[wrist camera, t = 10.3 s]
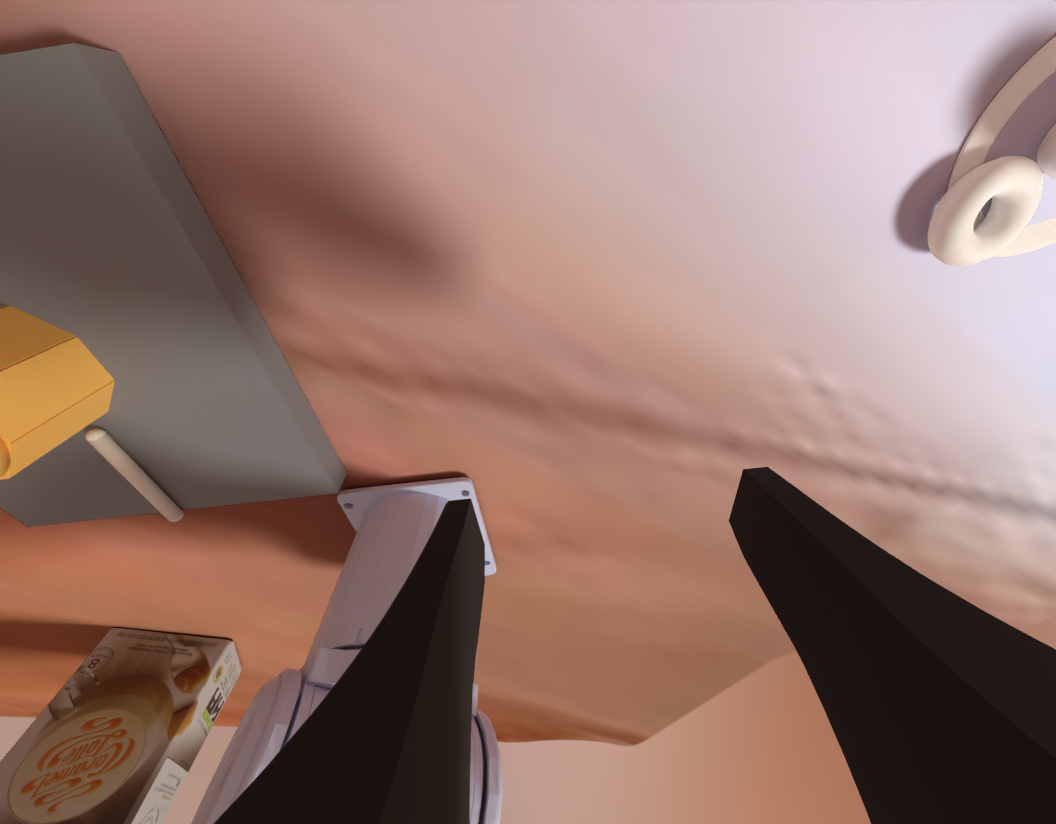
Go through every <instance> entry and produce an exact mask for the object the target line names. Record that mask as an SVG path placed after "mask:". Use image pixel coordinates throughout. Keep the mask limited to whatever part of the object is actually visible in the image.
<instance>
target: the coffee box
mask: <svg viewBox="0 0 1056 824" xmlns="http://www.w3.org/2000/svg"><path fill="white" fill-rule="evenodd" d="M241 671H242V668H241V665H240V661H239V658H238V655H237V652H236V648H235V645H234V642H233V641H230V640H225V639H216V638H206V637H198V636H189V635H179V634H170V633H161V632H151V631H142V630H133V629H123V628H112V629H110V631H109V632H108V633H107V634H106V635H105V636H104V638H103V639H102V640H101V641H100V642H99V644H98V645H97V646H96V647H95V649H94V650H93V651H92V652H91V654H90V655H89V656H88V657H87V658H86V659H85V661H84V662H83V663H82V664H81V666H80V667H79V668H78V669H77V670H76V672H75V673H74V674H73V675H72V676H71V677H70V679H69V680H68V681H67V682H66V683H65V685H64V686H63V687H62V688H61V689H60V691H59V692H58V693H57V694H56V696H55V697H54V698H53V699H52V701H51V702H50V703H49V704H48V705H47V706H46V708H45V709H44V710H43V711H42V712H41V713H40V715H39V716H38V717H37V718H36V720H35V721H34V722H33V723H32V724H31V725H30V727H29V728H28V729H27V730H26V732H25V733H24V734H23V735H22V736H21V738H20V739H19V740H18V741H17V742H16V744H15V745H14V746H13V747H12V748H11V750H10V751H9V752H8V753H7V754H6V756H5V757H4V758H3V759H2V760H1V762H0V824H161V823H162V821H163V819H164V817H165V815H166V813H167V812H168V809H169V808H170V806H171V804H172V802H173V800H174V798H175V796H176V794H177V792H178V791H179V789H180V787H181V785H182V783H183V781H184V779H185V777H186V775H187V773H188V771H189V770H190V767H191V766H192V764H193V762H194V760H195V758H196V756H197V754H198V752H199V750H200V749H201V746H202V744H203V743H204V741H205V739H206V737H207V735H208V733H209V732H210V730H211V728H212V726H213V724H214V722H215V720H216V718H217V716H218V715H219V713H220V711H221V709H222V707H223V705H224V703H225V701H226V699H227V698H228V696H229V694H230V692H231V690H232V688H233V686H234V684H235V682H236V680H237V678H238V676H239V675H240V673H241Z"/></svg>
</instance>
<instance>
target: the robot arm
mask: <svg viewBox="0 0 1056 824" xmlns="http://www.w3.org/2000/svg"><path fill="white" fill-rule="evenodd" d="M463 490H467V492H466V491H463ZM337 501H338V502H339V504H340V506H341V507H342V509H343V511H344V513H345V514H346V516H347V518H348V519H349V521H350V523H351V524H352V526H353V528H354V529H355V531H356V535H355V538H354V540H353V543H352V545H351V548H350V550H349V553H348V555H347V558H346V560H345V563H344V566H343V568H342V571H341V573H340V576H339V578H338V581H337V583H336V586H335V588H334V591H333V593H332V596H331V598H330V601H329V603H328V606H327V608H326V611H325V614H324V616H323V619H322V621H321V624H320V626H319V629H318V631H317V634H316V636H315V639H314V641H313V644H312V646H311V649H310V651H309V654H308V656H307V659H306V662H305V664H304V666H303V667H302V668H301V669H300V670H294V669H285V670H284V671H282V672H281V673H280V674H279V675H278V676H277V677H275V678H273V679H271V680H270V681H268V682H266V683H265V684H264V685H263V686H262V687H261V688H260V690H259V691H258V693H257V694H256V696H255V698H254V699H253V701H252V703H251V704H250V706H249V708H248V710H247V711H246V713H245V715H244V717H243V719H242V721H241V722H240V724H239V726H238V728H237V730H236V732H235V734H234V736H233V738H232V740H231V742H230V744H229V746H228V748H227V750H226V752H225V754H224V756H223V758H222V760H221V762H220V764H219V766H218V768H217V770H216V772H215V774H214V776H213V778H212V780H211V782H210V784H209V787H208V789H207V791H206V793H205V795H204V797H203V800H202V802H201V804H200V806H199V808H198V810H197V812H196V815H195V817H194V819H193V821H192V824H500V819H501V818H500V817H501V810H502V797H503V775H502V774H503V773H502V763H501V756H500V751H499V748H498V743H497V738H496V734H495V732H494V729H493V726H492V723H491V722H490V720H489V718H488V717H487V716H486V714H485V713H484V712H482V711H481V710H478V709H477V696H478V685H477V684H475V683H473V680H474V669H475V663H476V657H477V644H478V635H479V627H480V618H481V610H482V601H483V592H484V583H485V575H493V574H494V573H495V572H496V563H495V560H494V556H493V553H492V549H491V546H490V542H489V539H488V535H487V532H486V528H485V525H484V521H483V518H482V514H481V511H480V507H479V504H478V500H477V497H476V493H475V490H474V486H473V483H472V481H471V480H470V479H469V478H466V477H458V478H449V479H439V480H430V481H421V482H412V483H403V484H393V485H384V486H375V487H366V488H357V489H347V490H342V491H340V492H339V494H338V496H337ZM729 522H730V524H731V527H732V529H733V532H734V534H735V537H736V539H737V542H738V544H739V546H740V549H741V551H742V553H743V556H744V558H745V560H746V562H747V563H748V565H749V567H750V569H751V571H752V572H753V574H754V576H755V578H756V580H757V581H758V583H759V585H760V587H761V588H762V590H763V592H764V594H765V595H766V597H767V599H768V601H769V603H770V604H771V606H772V608H773V610H774V611H775V613H776V615H777V617H778V618H779V620H780V622H781V624H782V625H783V627H784V629H785V631H786V632H787V634H788V636H789V638H790V639H791V641H792V643H793V645H794V647H795V649H796V650H797V652H798V654H799V656H800V658H801V660H802V662H803V664H804V666H805V668H806V670H807V673H808V675H809V677H810V679H811V681H812V683H813V686H814V688H815V690H816V692H817V694H818V696H819V699H820V701H821V703H822V705H823V707H824V710H825V712H826V714H827V717H828V719H829V721H830V724H831V726H832V728H833V731H834V733H835V735H836V738H837V740H838V742H839V745H840V747H841V749H842V751H843V754H844V756H845V759H846V761H847V764H848V766H849V768H850V771H851V774H852V776H853V779H854V781H855V784H856V786H857V788H858V791H859V794H860V796H861V798H862V801H863V803H864V806H865V808H866V811H867V813H868V816H869V819H870V821H871V824H1056V650H1055V649H1054V648H1052V647H1050V646H1048V645H1046V644H1044V643H1042V642H1040V641H1038V640H1036V639H1035V638H1033V637H1031V636H1029V635H1027V634H1025V633H1023V632H1021V631H1019V630H1018V629H1016V628H1014V627H1012V626H1010V625H1008V624H1006V623H1005V622H1003V621H1001V620H999V619H997V618H995V617H994V616H992V615H990V614H988V613H986V612H985V611H983V610H981V609H979V608H978V607H976V606H974V605H973V604H971V603H969V602H967V601H966V600H964V599H962V598H961V597H959V596H957V595H955V594H954V593H952V592H950V591H949V590H947V589H945V588H943V587H942V586H940V585H938V584H937V583H935V582H933V581H932V580H930V579H928V578H927V577H925V576H924V575H922V574H920V573H919V572H917V571H916V570H914V569H912V568H911V567H909V566H908V565H906V564H905V563H903V562H902V561H900V560H899V559H897V558H895V557H894V556H892V555H891V554H889V553H888V552H886V551H885V550H883V549H882V548H880V547H879V546H877V545H876V544H874V543H873V542H871V541H870V540H868V539H867V538H865V537H864V536H862V535H861V534H860V533H858V532H857V531H855V530H854V529H852V528H851V527H849V526H848V525H847V524H845V523H844V522H842V521H841V520H840V519H838V518H837V517H835V516H834V515H833V514H831V513H830V512H828V511H827V510H826V509H824V508H823V507H822V506H820V505H819V504H817V503H816V502H815V501H813V500H812V499H811V498H809V497H808V496H807V495H805V494H804V493H802V492H801V491H800V490H798V489H797V488H796V487H794V486H793V485H792V484H790V483H789V482H788V481H786V480H785V479H783V478H782V477H781V476H779V475H778V474H777V473H775V472H774V471H772V470H771V469H770V468H768V467H762V468H752V469H743V472H742V476H741V480H740V483H739V487H738V490H737V494H736V497H735V501H734V504H733V508H732V511H731V515H730V519H729Z"/></svg>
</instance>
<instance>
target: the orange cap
mask: <svg viewBox="0 0 1056 824" xmlns="http://www.w3.org/2000/svg"><path fill="white" fill-rule="evenodd" d="M114 382H115V381H114V379H113V378H112V376H111V375H110V374H109V373H108V372H107V371H106V369H105V368H104V367H103V366H102V365H101V364H100V363H99V361H98V360H97V359H96V358H95V357H94V356H93V354H92V353H91V352H90V351H89V350H88V349H87V348H86V346H85V345H84V344H83V343H82V342H81V341H80V339H79V338H78V337H75V335H73V334H71V333H69V332H67V331H65V330H62V329H60V328H58V327H56V326H54V325H51V324H49V323H47V322H45V321H43V320H40V319H38V318H36V317H34V316H32V315H30V314H27V313H25V312H23V311H21V310H19V309H16V308H14V307H12V306H9V305H7V306H0V480H1V479H9V478H11V477H12V476H14V475H15V474H17V473H18V472H20V471H21V470H23V469H24V468H26V467H27V466H28V465H30V464H31V463H33V462H34V461H36V460H37V459H39V458H40V457H42V456H43V455H45V454H46V453H48V452H49V451H51V450H52V449H54V448H55V447H57V446H58V445H59V444H61V443H62V442H64V441H65V440H67V439H68V438H70V437H71V436H73V435H74V434H76V433H77V432H79V431H80V430H82V429H83V428H85V427H86V426H88V425H89V424H90V423H92V422H93V421H95V420H96V419H98V418H99V417H101V416H102V415H104V414H105V413H107V412H108V411H109V406H110V401H111V396H112V391H113V387H114Z"/></svg>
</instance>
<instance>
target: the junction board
mask: <svg viewBox="0 0 1056 824" xmlns="http://www.w3.org/2000/svg"><path fill="white" fill-rule="evenodd" d="M7 305H9V306H12V307H14V308H16V309H19V310H21V311H23V312H25V313H27V314H30V315H32V316H34V317H36V318H38V319H40V320H43V321H45V322H47V323H49V324H51V325H54V326H56V327H58V328H60V329H62V330H65V331H67V332H69V333H71V334H73V335H75V337H78V338H79V339H80V341H81V342H82V343H83V344H84V345H85V346H86V348H87V349H88V350H89V351H90V352H91V353H92V354H93V356H94V357H95V358H96V359H97V360H98V361H99V363H100V364H101V365H102V366H103V367H104V368H105V369H106V371H107V372H108V373H109V374H110V375H111V376H112V378H113V379H114V381H115V382H114V387H113V391H112V396H111V401H110V406H109V411H108V412H107V413H105V414H104V415H102V416H101V417H99V418H98V419H96V420H95V421H93V422H92V423H90V424H89V425H88V426H86V427H85V428H83V429H82V430H80V431H79V432H77V433H76V434H74V435H73V436H71V437H70V438H68V439H67V440H65V441H64V442H62V443H61V444H59V445H58V446H57V447H55V448H54V449H52V450H51V451H49V452H48V453H46V454H45V455H43V456H42V457H40V458H39V459H37V460H36V461H34V462H33V463H31V464H30V465H28V466H27V467H26V468H24V469H23V470H21V471H20V472H18V473H17V474H15V475H14V476H12V477H11V478H9V479H1V480H0V507H1V508H2V509H3V510H5V511H6V512H7V513H9V514H10V515H11V516H13V517H14V518H16V519H17V520H18V521H20V522H21V523H22V524H24V525H25V526H26V527H31V526H40V525H49V524H59V523H68V522H77V521H86V520H95V519H105V518H114V517H123V516H132V515H142V514H151V513H161V514H162V515H163V516H164V517H165V518H166V519H167V520H168V521H170V522H177V521H179V520H181V519H182V518H183V515H184V514H183V511H182V510H188V509H197V508H206V507H215V506H225V505H234V504H243V503H252V502H261V501H271V500H280V499H289V498H298V497H308V496H317V495H326V494H335V493H338V491H339V489H340V487H341V485H342V483H343V481H344V479H345V477H346V475H347V472H346V470H345V469H344V467H343V465H342V463H341V461H340V459H339V458H338V456H337V454H336V452H335V450H334V448H333V446H332V445H331V443H330V441H329V439H328V437H327V435H326V434H325V432H324V430H323V428H322V426H321V424H320V423H319V421H318V419H317V417H316V415H315V413H314V411H313V410H312V408H311V406H310V404H309V402H308V400H307V399H306V397H305V395H304V393H303V391H302V389H301V387H300V386H299V384H298V382H297V380H296V378H295V376H294V375H293V373H292V371H291V369H290V367H289V365H288V363H287V362H286V360H285V358H284V356H283V354H282V352H281V351H280V349H279V347H278V345H277V343H276V341H275V340H274V338H273V336H272V334H271V332H270V330H269V328H268V327H267V325H266V323H265V321H264V319H263V317H262V316H261V314H260V312H259V310H258V308H257V306H256V304H255V303H254V301H253V299H252V297H251V295H250V293H249V292H248V290H247V288H246V286H245V284H244V282H243V280H242V279H241V277H240V275H239V273H238V271H237V269H236V268H235V266H234V264H233V262H232V260H231V258H230V257H229V255H228V253H227V251H226V249H225V247H224V245H223V244H222V242H221V240H220V238H219V236H218V234H217V233H216V231H215V229H214V227H213V225H212V223H211V221H210V220H209V218H208V216H207V214H206V212H205V210H204V209H203V207H202V205H201V203H200V201H199V199H198V198H197V196H196V194H195V192H194V190H193V188H192V186H191V185H190V183H189V181H188V179H187V177H186V175H185V174H184V172H183V170H182V168H181V166H180V164H179V162H178V161H177V159H176V157H175V155H174V153H173V151H172V150H171V148H170V146H169V144H168V142H167V140H166V138H165V137H164V135H163V133H162V131H161V129H160V127H159V126H158V124H157V122H156V120H155V118H154V116H153V115H152V113H151V111H150V109H149V107H148V105H147V103H146V102H145V100H144V98H143V96H142V94H141V92H140V91H139V89H138V87H137V85H136V83H135V81H134V79H133V78H132V76H131V74H130V72H129V70H128V68H127V67H126V65H125V63H124V61H123V59H122V57H121V55H120V54H119V53H118V52H114V51H109V50H104V49H100V48H95V47H90V46H86V45H81V44H76V43H70V44H64V45H58V46H52V47H45V48H39V49H33V50H27V51H21V52H15V53H9V54H3V55H0V306H7Z"/></svg>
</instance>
